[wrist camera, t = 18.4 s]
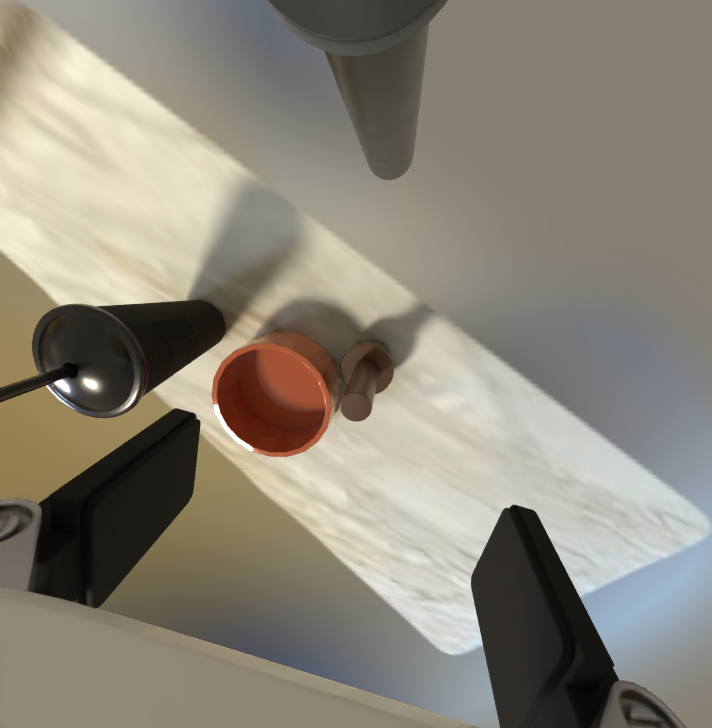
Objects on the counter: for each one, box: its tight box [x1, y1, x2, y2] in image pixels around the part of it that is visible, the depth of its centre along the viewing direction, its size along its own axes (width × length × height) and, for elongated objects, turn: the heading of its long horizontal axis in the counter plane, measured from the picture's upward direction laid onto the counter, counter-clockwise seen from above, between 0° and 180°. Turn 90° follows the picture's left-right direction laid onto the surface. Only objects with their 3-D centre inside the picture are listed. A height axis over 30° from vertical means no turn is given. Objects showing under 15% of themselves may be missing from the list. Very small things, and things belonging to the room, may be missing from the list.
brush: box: [340, 339, 394, 421], centre depth 29 cm, size 5×5×11 cm
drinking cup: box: [0, 300, 225, 418], centre depth 26 cm, size 8×8×20 cm
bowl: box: [212, 331, 340, 457], centre depth 34 cm, size 11×11×5 cm
